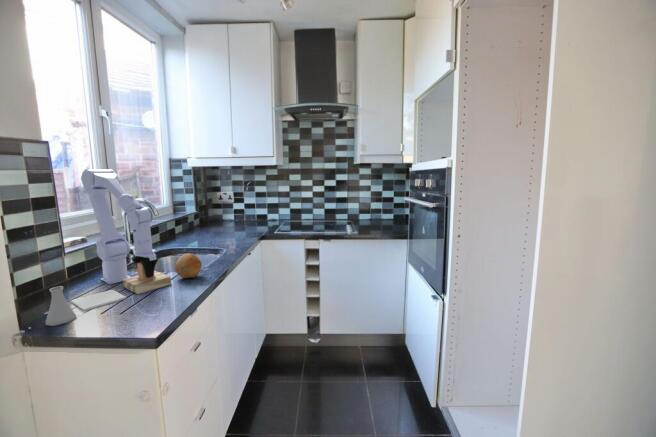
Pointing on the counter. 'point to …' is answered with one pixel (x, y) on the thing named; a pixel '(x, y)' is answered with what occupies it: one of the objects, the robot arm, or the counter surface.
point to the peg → (142, 273)
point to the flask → (59, 308)
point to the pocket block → (146, 283)
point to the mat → (98, 300)
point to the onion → (188, 266)
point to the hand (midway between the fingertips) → (146, 275)
